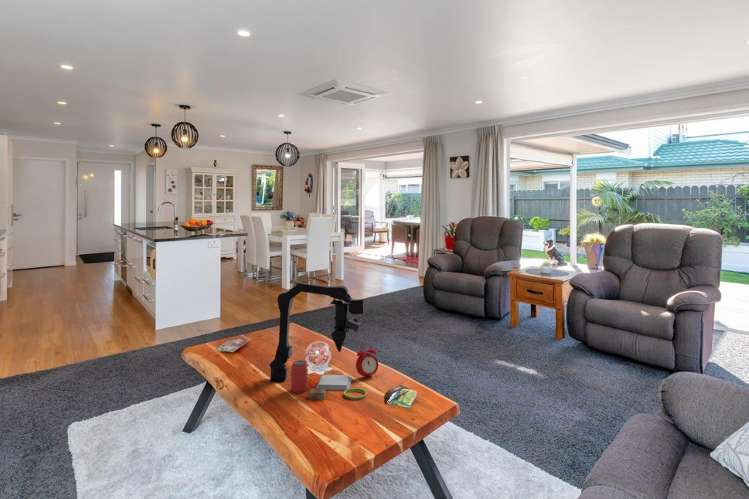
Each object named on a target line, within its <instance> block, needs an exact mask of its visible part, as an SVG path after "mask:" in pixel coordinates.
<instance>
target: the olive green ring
mask: <svg viewBox="0 0 749 499" xmlns="http://www.w3.org/2000/svg"><path fill="white" fill-rule="evenodd" d="M353 392H354V393H355V392H356V393H361V394H363V395H361V396H360V395H359V396H350V395H349V394H350V393H353ZM343 394H344V397H345V398H346V399H348V400H355V401H356V400H363V399H364V398H365V397H366V395H367V394H368V392H367V391H366V389H364V388H360V387H353V388H352V387H350V389H347V390H345V391H343Z"/></svg>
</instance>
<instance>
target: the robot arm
mask: <svg viewBox="0 0 749 499" xmlns="http://www.w3.org/2000/svg"><path fill="white" fill-rule="evenodd" d="M300 293H307V294H314V295H316V294H317V295H320V296H321V295H323V296H327V297H330V298H332V299H333V300H332V301H331V302H330V303H329V304H330V305H334V317H333V320H334V326H333V330H332V331H331V339H332V340H333V342H334V343H333V344H334V345H335V347H336V349H337V351H338V352H339V353H341V352H342V349H343V348H342V347H344V344H345V339H347V334H348V332H349V331H350V330H352V331H353V332H359V328H360V326H361V323H360V322H359V318H356V317H355V318H353V319H351V318H350V317H349V315H348V313H350V315H353V316H355V315H361V316H363V315H365V301H364V299H363V298H362V299H361V298H359V299H353V298H352V296H351V295H350V293H349V289H348V287H347V286H345V285H330V286H328V285H320V284H313V283H305V282H303V281H300V282H298V283H296V284H295V286H293V287H292V288H291V289H289V290H286V291H283V292H282V293H280V294H279V295H278V297H277V307H278V310H279V330H278V345H277V348H276V350H275V355H274V359H273V360H272V361H271V362H270V363H269V367H270V379H269V382H280V383H281V382H282V383H283V382H285V381H286V380H287V378H288V368H287V364H286V363H287V362H288V361H289V360H290V359H291V356H292V355H293V345H290V343H289V337H290V336H289V335H290V334H289V333H290V318H291V316H290V314H291V309H292V307H293V303H294V298H295V297H296V296H298V294H300Z"/></svg>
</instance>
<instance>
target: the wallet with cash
mask: <svg viewBox="0 0 749 499" xmlns="http://www.w3.org/2000/svg"><path fill="white" fill-rule="evenodd" d="M402 389H408V390H409V388H408V387H407V386H405V385H403V384H399V385H396V386H394V387H391V388H389V389H388V390H386V392H385V394H384V395H383V402H384V403H386V402H387V401H388V400H389V399H390V397H391V396H392V394H393V393H395V392H397V391H399V390H402Z"/></svg>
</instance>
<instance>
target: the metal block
mask: <svg viewBox="0 0 749 499" xmlns="http://www.w3.org/2000/svg"><path fill="white" fill-rule="evenodd" d="M326 391H327V390H326V389H316V388H311V389H310V391H309V394H308V398H309V400H317V401H319V400H320V401H323V400H324V401H325V398H326V396H327V395H326V394H327V392H326Z"/></svg>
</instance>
